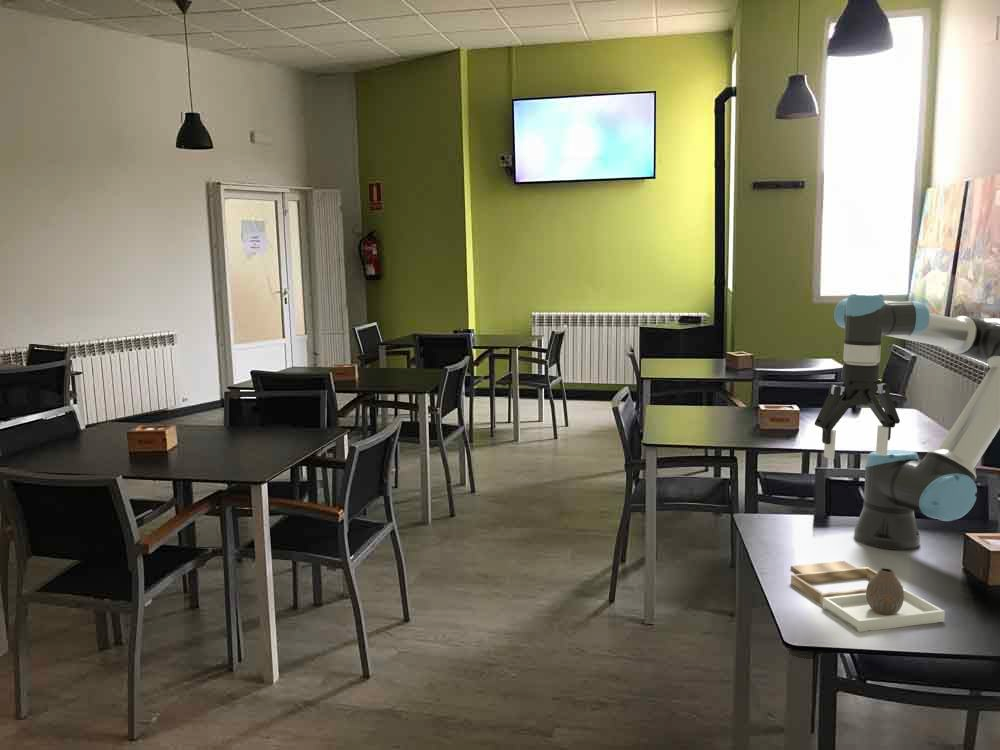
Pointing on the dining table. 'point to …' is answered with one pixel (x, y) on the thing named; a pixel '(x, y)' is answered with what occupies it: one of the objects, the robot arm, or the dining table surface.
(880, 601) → the vase
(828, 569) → the lid
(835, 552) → the dining table surface
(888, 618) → the off-white tray
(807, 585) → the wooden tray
